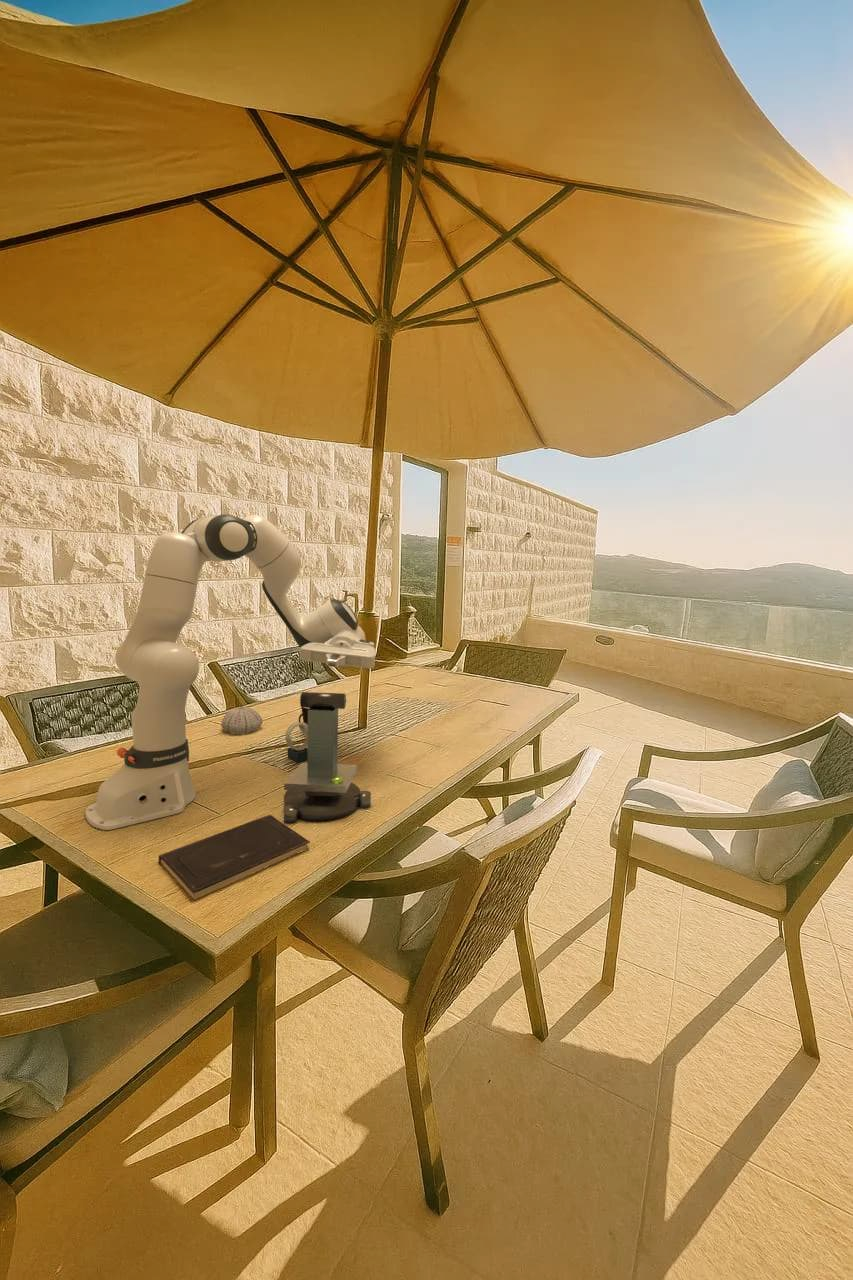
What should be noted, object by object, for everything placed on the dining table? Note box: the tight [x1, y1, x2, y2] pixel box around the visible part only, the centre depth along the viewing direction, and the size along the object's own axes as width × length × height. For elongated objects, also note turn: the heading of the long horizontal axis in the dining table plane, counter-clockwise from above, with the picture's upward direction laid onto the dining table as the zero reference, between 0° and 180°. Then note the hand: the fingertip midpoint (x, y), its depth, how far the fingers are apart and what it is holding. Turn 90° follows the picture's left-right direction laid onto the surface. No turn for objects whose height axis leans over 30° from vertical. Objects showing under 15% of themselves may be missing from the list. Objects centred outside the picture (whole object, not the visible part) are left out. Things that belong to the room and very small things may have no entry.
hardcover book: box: [158, 814, 310, 900], centre depth 99 cm, size 16×23×2 cm
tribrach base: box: [283, 781, 372, 825], centre depth 121 cm, size 20×21×6 cm
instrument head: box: [283, 691, 358, 793], centre depth 120 cm, size 14×14×21 cm
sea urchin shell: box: [220, 706, 263, 735], centre depth 173 cm, size 13×14×8 cm
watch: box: [284, 721, 308, 764], centre depth 148 cm, size 6×8×11 cm
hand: (332, 663), depth 129 cm, fingers closed
